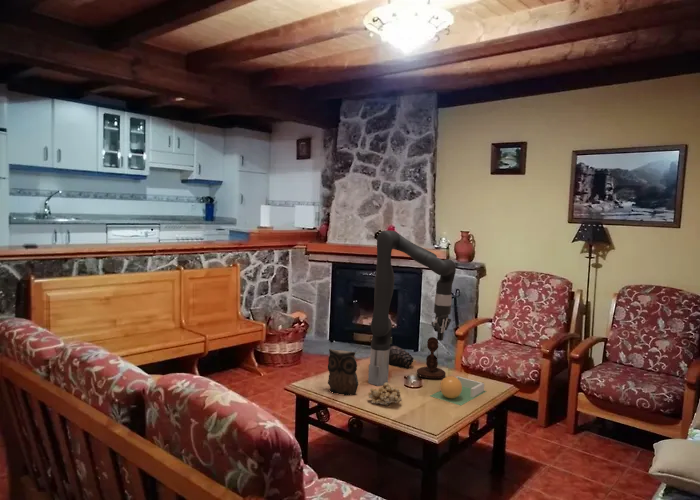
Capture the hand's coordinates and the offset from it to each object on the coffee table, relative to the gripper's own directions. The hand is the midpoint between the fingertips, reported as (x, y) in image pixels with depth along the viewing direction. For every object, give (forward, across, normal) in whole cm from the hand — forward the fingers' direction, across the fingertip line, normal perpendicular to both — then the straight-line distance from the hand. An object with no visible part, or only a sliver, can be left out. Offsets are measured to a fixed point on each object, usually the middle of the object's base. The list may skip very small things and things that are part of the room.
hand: (440, 340), depth 237 cm
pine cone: (+29, -24, -40) cm, 55 cm away
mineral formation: (+27, +26, -9) cm, 38 cm away
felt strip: (+27, -10, +6) cm, 29 cm away
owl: (+27, +29, -31) cm, 50 cm away
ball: (+21, -2, +6) cm, 22 cm away
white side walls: (+26, -16, +6) cm, 31 cm away
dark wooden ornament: (+28, -21, -18) cm, 39 cm away
